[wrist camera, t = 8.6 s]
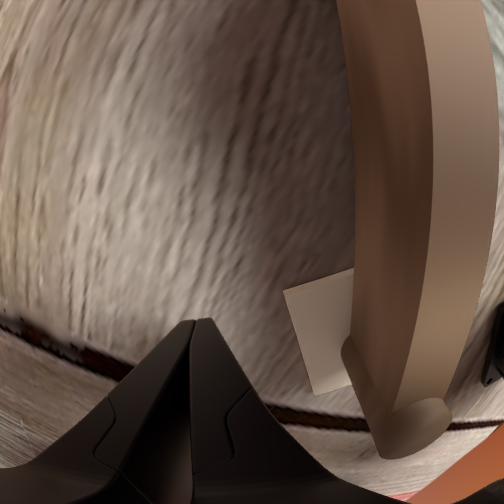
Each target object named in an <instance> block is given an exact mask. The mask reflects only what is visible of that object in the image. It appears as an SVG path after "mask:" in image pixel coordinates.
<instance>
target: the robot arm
mask: <svg viewBox="0 0 504 504" xmlns="http://www.w3.org/2000/svg"><path fill="white" fill-rule="evenodd" d="M501 377H502V378H503V379H504V303H503V304H502V305H501V306H500V308H499V309H498V311H497V315H496V321H495V326H494V331H493V336H492V340H491V345H490V349H489V353H488V357H487V361H486V365H485V369H484V372H483V376H482V379H481V383H482V384H483V386H484V387H487V386H489V385H490V384H492V383H494V382H495V381H497V380H498V379H500V378H501ZM0 504H410V503H407V502H404V501H400V500H397V499H394V498H391V497H388V496H385V495H382V494H379V493H376V492H373V491H370V490H367V489H365V488H362V487H359V486H357V485H354V484H351V483H349V482H346V481H344V480H342V479H340V478H338V477H337V476H335V475H334V474H332V473H331V472H329V471H328V470H327V469H326V468H324V467H323V466H322V465H321V464H320V463H319V462H318V461H317V460H316V459H314V458H313V457H312V456H311V455H310V454H309V453H308V452H307V451H306V450H305V449H304V448H303V447H302V446H301V445H300V444H299V443H298V442H297V441H296V440H295V439H294V438H293V437H292V436H291V435H290V434H289V433H288V432H287V430H286V429H285V428H284V427H283V426H282V425H281V424H280V423H279V422H278V421H277V419H276V418H275V417H274V416H273V415H272V414H271V412H270V411H269V410H268V408H267V407H266V405H265V404H264V403H263V401H262V400H261V398H260V397H259V395H258V394H257V392H256V390H255V389H254V388H253V386H252V384H251V383H250V381H249V379H248V378H247V376H246V375H245V373H244V371H243V370H242V368H241V366H240V365H239V363H238V361H237V360H236V358H235V357H234V355H233V353H232V351H231V350H230V348H229V346H228V345H227V343H226V341H225V340H224V338H223V336H222V334H221V333H220V331H219V329H218V328H217V326H216V324H215V322H214V321H213V319H212V318H201V319H197V321H196V320H194V319H193V320H184V321H181V322H179V323H178V324H177V325H176V326H175V327H174V328H173V329H172V330H171V331H170V332H169V333H168V334H167V335H166V336H165V337H164V338H163V339H162V340H161V341H160V342H159V343H158V344H157V345H156V346H155V348H154V349H153V350H152V351H151V352H150V353H149V354H148V355H147V356H146V357H145V358H144V359H143V360H142V361H141V362H140V363H139V364H138V365H137V366H136V367H135V368H134V369H133V370H132V371H131V372H130V373H129V374H128V375H127V376H126V377H125V378H124V379H123V380H122V381H121V382H120V383H119V384H118V385H117V386H116V387H115V388H114V389H113V390H112V391H111V392H110V393H109V394H108V397H107V396H106V397H105V398H104V399H103V400H102V401H101V402H100V403H99V404H98V405H97V406H96V407H95V408H94V409H92V410H91V411H90V412H89V413H88V414H87V415H86V416H85V417H84V418H83V419H82V420H81V421H79V422H78V423H77V424H76V425H75V426H74V427H73V428H71V429H70V430H69V431H68V432H67V433H65V434H64V435H63V436H62V437H60V438H59V439H58V440H57V441H56V442H54V443H53V444H52V445H51V446H49V447H48V448H47V449H46V450H44V451H43V452H42V453H41V454H39V455H38V456H37V457H36V458H34V459H33V460H31V461H30V462H28V463H26V464H23V465H21V466H17V467H12V468H0ZM453 504H504V478H503V479H500V480H497V481H495V482H493V483H491V484H489V485H487V486H486V487H484V488H482V489H481V490H479V491H477V492H475V493H474V494H472V495H470V496H468V497H466V498H465V499H463V500H460V501H458V502H455V503H453Z"/></svg>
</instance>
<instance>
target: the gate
mask: <svg viewBox="0 0 504 504" xmlns="http://www.w3.org/2000/svg"><path fill="white" fill-rule="evenodd" d="M336 4H337V9H338V15H339V20H340V27H341V33H342V39H343V46H344V54H345V61H346V69H347V78H348V87H349V98H350V109H351V121H352V136H353V154H354V182H355V250H354V278H353V297H352V312H351V325H350V335H349V336H348V337H347V338H346V339H345V341H344V343H343V345H342V348H341V359H342V361H343V364H344V366H345V369H346V371H347V373H348V376H349V378H350V381H351V383H352V386H353V388H354V391H355V393H356V395H357V398H358V400H359V403H360V405H361V408H362V411H363V413H364V416H365V418H366V421H367V423H368V426H369V428H370V431H371V434H372V436H373V439H374V441H375V444H376V447H377V449H378V452H379V455H380V456H381V457H382V458H384V459H390V460H391V459H399V458H403V457H406V456H409V455H411V454H414V453H416V452H418V451H420V450H422V449H423V448H425V447H427V446H428V445H430V444H431V443H432V442H434V441H435V440H436V439H437V438H439V437H440V436H441V435H442V434H443V433H444V431H445V430H446V429H447V428H448V426H449V425H450V423H451V420H452V414H451V412H450V410H449V409H448V407H447V405H446V404H445V402H444V401H443V399H444V397H445V395H446V393H447V390H448V388H449V386H450V383H451V381H452V378H453V376H454V373H455V371H456V368H457V366H458V363H459V360H460V358H461V355H462V352H463V349H464V346H465V344H466V341H467V338H468V335H469V331H470V328H471V325H472V322H473V318H474V315H475V311H476V308H477V304H478V300H479V297H480V293H481V289H482V284H483V280H484V276H485V271H486V266H487V261H488V256H489V251H490V245H491V239H492V233H493V226H494V218H495V210H496V200H497V188H498V173H499V113H498V98H497V87H496V77H495V69H494V62H493V56H492V50H491V44H490V39H489V34H488V29H487V24H486V20H485V16H484V12H483V8H482V4H481V0H336Z"/></svg>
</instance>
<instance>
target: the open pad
mask: <svg viewBox="0 0 504 504" xmlns="http://www.w3.org/2000/svg"><path fill="white" fill-rule="evenodd" d="M353 278H354V268H351V269H348V270H345V271H342V272H339V273H336V274H333V275H330V276H327V277H324V278H321V279H318V280H315V281H311V282H308V283H305V284H302V285H299V286H296V287H292V288H289V289H286V290H283V294H284V297H285V300H286V304H287V307H288V310H289V313H290V317H291V320H292V323H293V326H294V330H295V333H296V336H297V339H298V343H299V346H300V349H301V353H302V356H303V359H304V363H305V366H306V369H307V373H308V376H309V379H310V383H311V386H312V389H313V393H314V396H317V395H321V394H324V393H327V392H330V391H333V390H337V389H340V388H343V387H346V386H348V385H351V384H352V383H351V381H350V378H349V376H348V373H347V371H346V369H345V366H344V364H343V361H342V359H341V348H342V345H343V343H344V341H345V339H346V338H347V337H348V336H349V335H350V325H351V312H352V297H353Z"/></svg>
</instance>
